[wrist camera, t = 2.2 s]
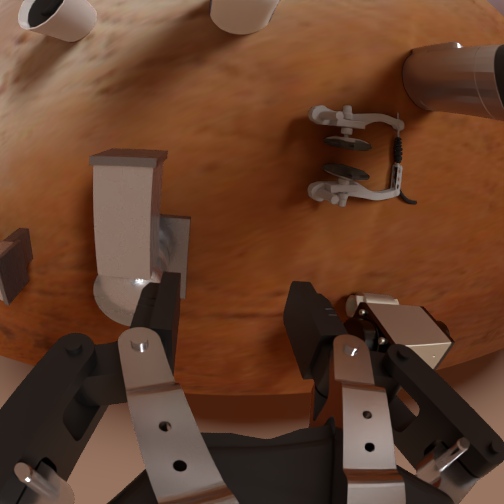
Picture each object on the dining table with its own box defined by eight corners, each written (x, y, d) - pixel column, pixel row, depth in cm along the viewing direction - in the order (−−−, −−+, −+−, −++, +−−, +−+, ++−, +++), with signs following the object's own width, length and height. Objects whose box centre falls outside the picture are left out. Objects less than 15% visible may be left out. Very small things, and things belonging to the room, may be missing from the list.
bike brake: (297, 204, 37) (405, 199, 42) (323, 220, 31) (435, 213, 36) (301, 98, 31) (413, 118, 36) (330, 94, 25) (445, 122, 30)
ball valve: (312, 319, 47) (351, 404, 31) (330, 275, 43) (384, 357, 27) (392, 323, 50) (438, 388, 35) (411, 286, 47) (468, 348, 31)
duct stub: (103, 210, 34) (89, 223, 30) (190, 216, 36) (187, 231, 32) (108, 287, 39) (98, 307, 35) (185, 295, 41) (183, 316, 37)
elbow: (168, 303, 35) (162, 336, 30) (109, 297, 34) (96, 327, 28) (176, 151, 28) (167, 159, 22) (104, 148, 26) (80, 156, 21)
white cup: (109, 5, 22) (80, -23, 13) (85, 48, 24) (47, 31, 15) (72, 0, 20) (38, -23, 11) (49, 42, 22) (9, 28, 13)
